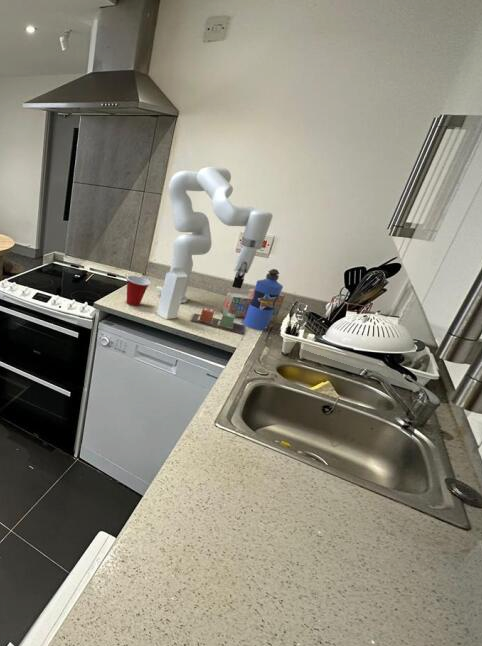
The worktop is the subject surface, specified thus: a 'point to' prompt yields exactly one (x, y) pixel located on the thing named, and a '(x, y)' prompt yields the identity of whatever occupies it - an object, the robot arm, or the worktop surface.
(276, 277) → the water bottle
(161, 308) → the milk
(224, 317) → the letter I
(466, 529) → the worktop surface
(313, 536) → the worktop surface
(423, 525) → the worktop surface
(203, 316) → the letter H
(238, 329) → the word board
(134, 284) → the plastic cup
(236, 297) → the stack of blocks
